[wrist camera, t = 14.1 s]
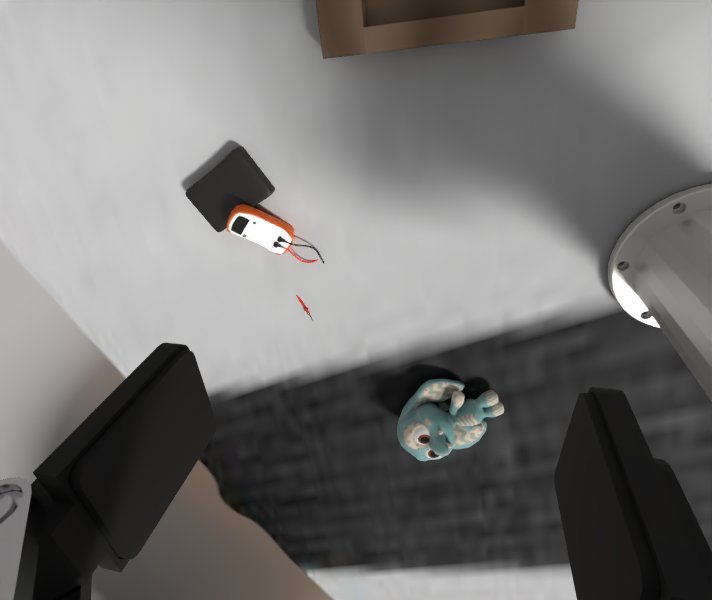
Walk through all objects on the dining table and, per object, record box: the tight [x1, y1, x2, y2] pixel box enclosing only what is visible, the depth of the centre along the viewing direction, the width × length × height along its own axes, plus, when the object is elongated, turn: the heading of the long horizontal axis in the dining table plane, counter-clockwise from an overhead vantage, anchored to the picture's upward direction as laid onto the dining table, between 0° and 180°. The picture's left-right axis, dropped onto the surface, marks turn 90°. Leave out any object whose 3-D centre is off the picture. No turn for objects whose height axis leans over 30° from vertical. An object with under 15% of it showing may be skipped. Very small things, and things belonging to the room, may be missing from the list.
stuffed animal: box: [397, 378, 504, 461], centre depth 45 cm, size 11×7×12 cm
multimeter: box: [186, 147, 324, 320], centre depth 39 cm, size 18×12×3 cm, turn 31°
